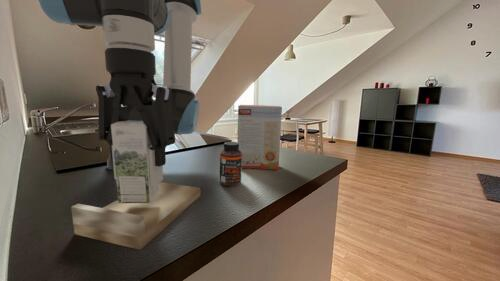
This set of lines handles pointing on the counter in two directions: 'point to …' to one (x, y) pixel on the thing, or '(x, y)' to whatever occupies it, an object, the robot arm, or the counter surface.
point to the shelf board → (133, 217)
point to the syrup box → (132, 162)
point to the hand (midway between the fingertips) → (138, 179)
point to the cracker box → (259, 136)
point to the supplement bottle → (230, 164)
